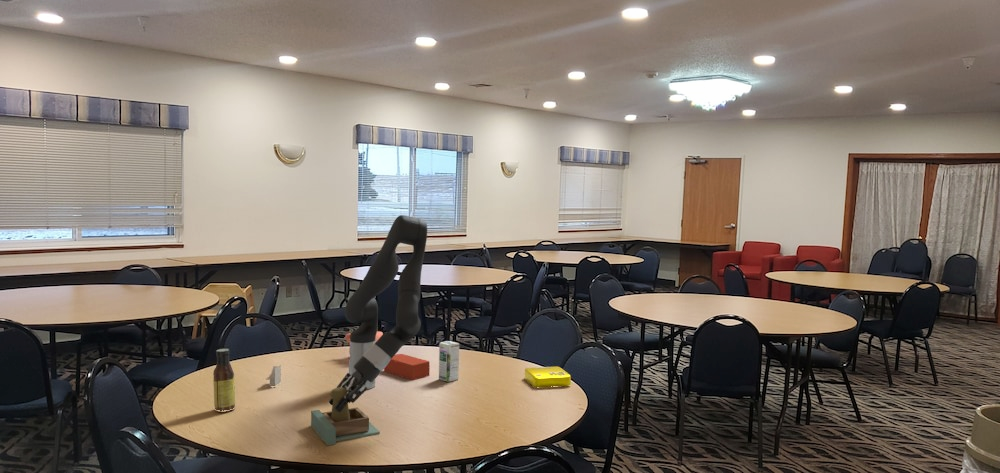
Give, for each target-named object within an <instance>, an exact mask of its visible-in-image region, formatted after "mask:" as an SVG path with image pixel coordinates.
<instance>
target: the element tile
mask: <svg viewBox="0 0 1000 473" xmlns="http://www.w3.org/2000/svg"><path fill="white" fill-rule="evenodd" d="M571 376H572V375H571V374H569V373H568V372H567V371H565V370H564V369H563V368H561V367H560V366H540V367H525V368H524V380H525V381H526V382H527V383H528V384H529V385H530V384H531V385H532V386H533V387H532V386H531V385H530V386H531V387H532V388H534V387H536V388H535V389H538V388H537V387H551V386H552V388H554V387H553V386H568V387H570V386H569V385H571V384H572V383H571V381H572V380H571V379H572V378H571ZM571 386H572V385H571Z"/></svg>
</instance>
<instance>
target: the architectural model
mask: <svg viewBox="0 0 1000 473" xmlns="http://www.w3.org/2000/svg"><path fill="white" fill-rule="evenodd" d="M281 366H282V365H281V364H280V365H277V366H275V365H274V366H273V367H272V370H271V373H270V374H269V376H267V377H266V378H265V380H269V387H270V386H276V385H277V384H279V383H280V382H281V383H282V378H281V377H282V367H281ZM279 385H280V384H279Z"/></svg>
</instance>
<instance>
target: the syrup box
mask: <svg viewBox="0 0 1000 473" xmlns="http://www.w3.org/2000/svg"><path fill="white" fill-rule="evenodd" d="M438 352H439V355H438V380H441V381H443V382H444V381H445V382H447V383H450V382H454V381H457V380H459V373H460V371H459V370H460V368H459V366H460V343H459V342H455V341H451V340H445V341H441V342H439V350H438Z"/></svg>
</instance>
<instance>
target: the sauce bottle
mask: <svg viewBox="0 0 1000 473" xmlns="http://www.w3.org/2000/svg"><path fill="white" fill-rule="evenodd" d="M215 355H216V365H215V368H214V369H213V382H212V383H213V401H214V402H213V403H214V410H215V409H216V410H220V411H222V410H223V411H224V410H230V409H233V408H234V407H235V408H236V391H235V388H236V387H235V374H234V370H233V367H232V365H231V363H230V362H231V361H230V349H229V348H219V349H217V350H215Z"/></svg>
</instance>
